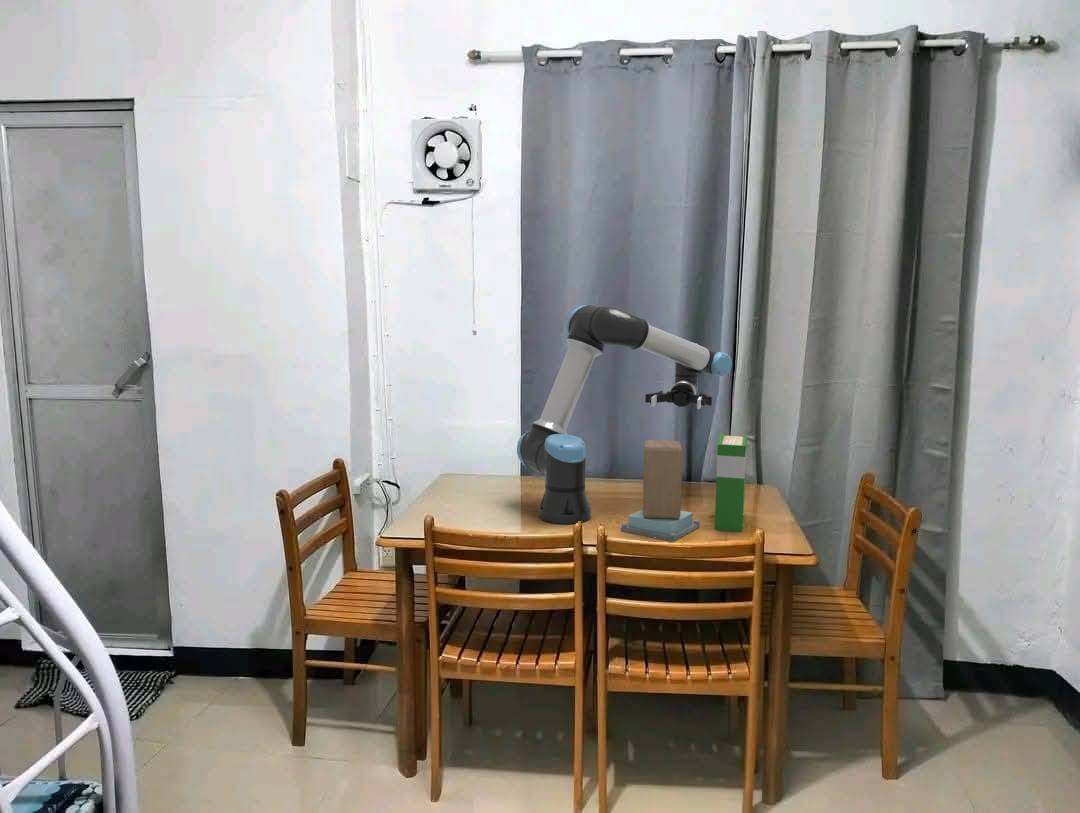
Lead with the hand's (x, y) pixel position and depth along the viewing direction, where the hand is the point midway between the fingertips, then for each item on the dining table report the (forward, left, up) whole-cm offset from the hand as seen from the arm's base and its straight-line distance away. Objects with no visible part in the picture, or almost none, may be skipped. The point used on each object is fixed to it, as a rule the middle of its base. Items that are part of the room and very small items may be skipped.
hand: (675, 403), depth 237 cm
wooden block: (+7, -21, -28) cm, 36 cm away
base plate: (+7, -21, -32) cm, 39 cm away
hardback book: (+19, -3, -32) cm, 38 cm away
